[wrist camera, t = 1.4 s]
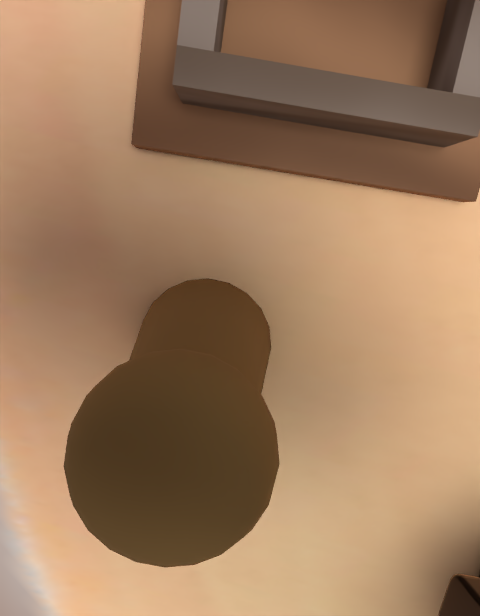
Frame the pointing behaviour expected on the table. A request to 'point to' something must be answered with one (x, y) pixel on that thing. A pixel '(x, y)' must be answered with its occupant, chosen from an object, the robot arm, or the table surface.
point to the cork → (179, 432)
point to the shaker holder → (318, 89)
